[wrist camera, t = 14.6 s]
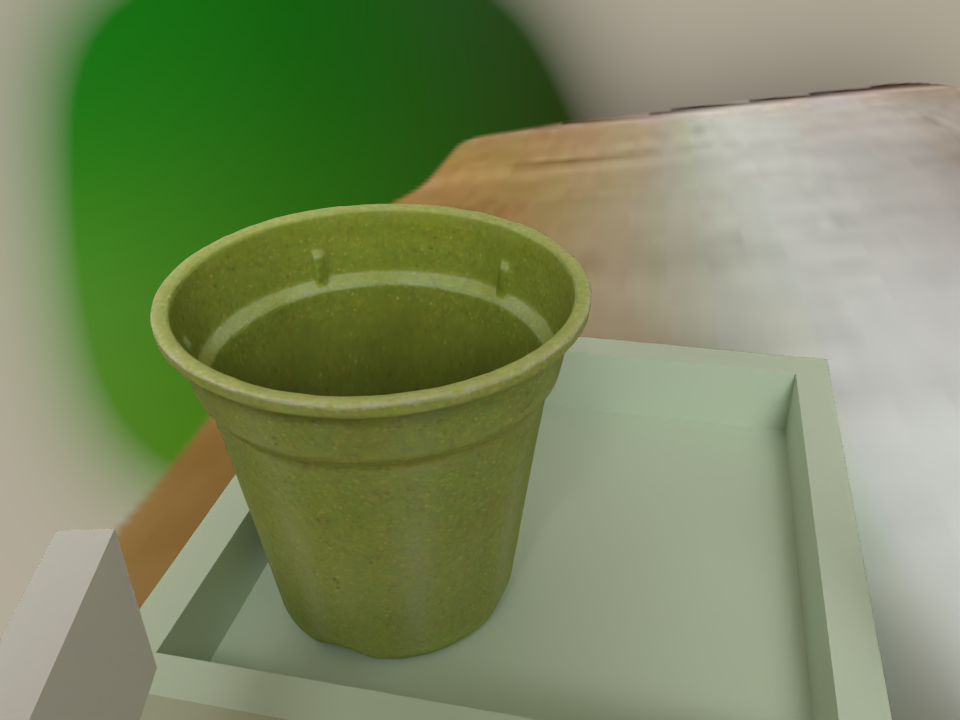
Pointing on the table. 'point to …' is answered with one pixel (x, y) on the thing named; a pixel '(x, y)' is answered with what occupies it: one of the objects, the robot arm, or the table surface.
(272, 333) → the plant pot
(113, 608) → the robot arm
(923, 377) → the table surface
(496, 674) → the tray
